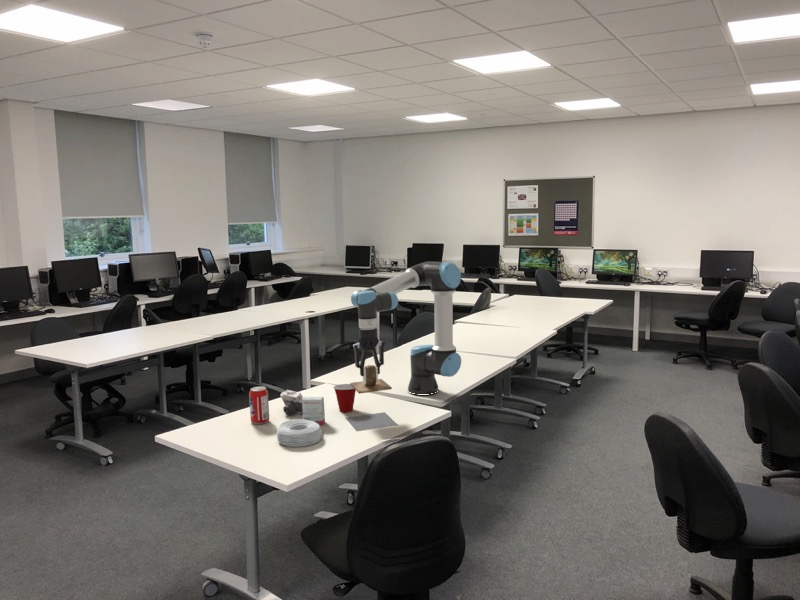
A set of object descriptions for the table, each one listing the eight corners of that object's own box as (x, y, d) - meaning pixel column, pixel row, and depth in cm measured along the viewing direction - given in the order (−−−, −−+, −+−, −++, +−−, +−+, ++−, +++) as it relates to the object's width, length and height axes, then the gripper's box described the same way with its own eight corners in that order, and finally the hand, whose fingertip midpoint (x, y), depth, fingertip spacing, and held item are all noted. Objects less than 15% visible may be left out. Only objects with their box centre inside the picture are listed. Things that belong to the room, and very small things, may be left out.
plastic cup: (359, 407, 275) (358, 381, 274) (357, 414, 265) (356, 388, 263) (335, 407, 276) (334, 382, 274) (332, 415, 265) (331, 389, 263)
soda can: (266, 425, 255) (264, 390, 253) (248, 425, 255) (246, 391, 253) (271, 418, 262) (269, 385, 260) (253, 419, 263) (251, 385, 261)
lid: (381, 380, 261) (380, 361, 260) (391, 389, 248) (390, 368, 247) (350, 384, 257) (349, 364, 256) (359, 393, 244) (358, 372, 242)
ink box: (325, 423, 255) (324, 396, 254) (323, 427, 251) (321, 399, 249) (305, 422, 256) (304, 396, 255) (303, 426, 252) (301, 399, 250)
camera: (292, 404, 279) (283, 386, 275) (314, 409, 268) (305, 390, 264) (278, 416, 273) (269, 398, 269) (300, 422, 262) (290, 403, 258)
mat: (384, 413, 266) (384, 412, 266) (398, 426, 249) (398, 425, 249) (345, 418, 260) (345, 417, 260) (356, 432, 243) (356, 431, 243)
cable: (283, 432, 246) (282, 418, 245) (325, 431, 246) (324, 417, 245) (272, 448, 229) (271, 433, 228) (318, 448, 228) (317, 432, 227)
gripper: (350, 331, 243) (352, 387, 246) (390, 327, 248) (393, 382, 252) (345, 328, 250) (348, 382, 253) (385, 324, 255) (387, 377, 259)
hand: (370, 382), depth 252 cm, fingers closed on lid, 4 cm apart
